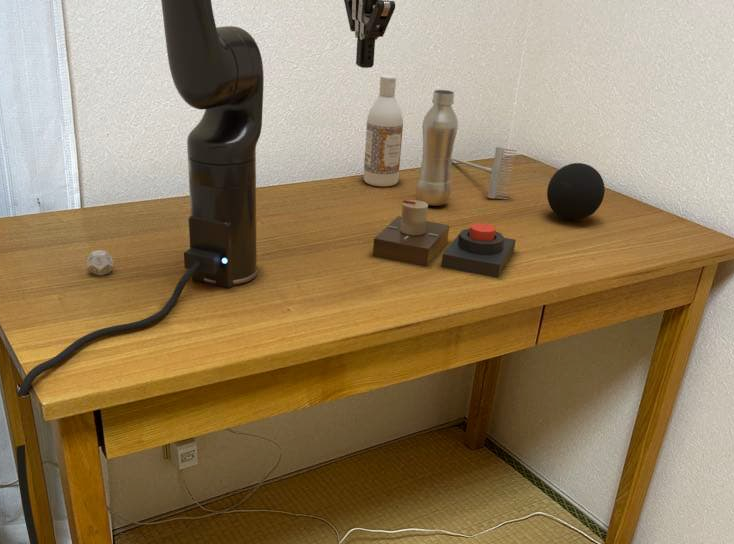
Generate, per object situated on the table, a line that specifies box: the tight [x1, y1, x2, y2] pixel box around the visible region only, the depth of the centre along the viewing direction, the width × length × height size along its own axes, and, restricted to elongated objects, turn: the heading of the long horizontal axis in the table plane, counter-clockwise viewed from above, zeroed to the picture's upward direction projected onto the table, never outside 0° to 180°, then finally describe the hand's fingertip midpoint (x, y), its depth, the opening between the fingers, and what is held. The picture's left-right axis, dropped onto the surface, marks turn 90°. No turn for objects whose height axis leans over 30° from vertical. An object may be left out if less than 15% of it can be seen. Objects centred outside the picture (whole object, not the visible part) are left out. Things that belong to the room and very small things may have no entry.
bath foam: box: [363, 74, 404, 188], centre depth 158 cm, size 7×7×20 cm
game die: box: [86, 249, 114, 276], centre depth 118 cm, size 4×4×3 cm
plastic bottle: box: [415, 89, 459, 207], centre depth 148 cm, size 6×7×20 cm
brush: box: [451, 146, 517, 200], centre depth 168 cm, size 4×28×9 cm, turn 11°
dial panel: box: [372, 215, 450, 268], centre depth 132 cm, size 12×9×3 cm
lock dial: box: [400, 199, 429, 235], centre depth 130 cm, size 4×4×5 cm
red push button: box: [469, 222, 497, 241], centre depth 129 cm, size 4×4×2 cm
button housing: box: [441, 227, 517, 279], centre depth 130 cm, size 12×9×4 cm
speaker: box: [546, 162, 605, 221], centre depth 148 cm, size 10×10×10 cm
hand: (364, 66), depth 121 cm, fingers closed
